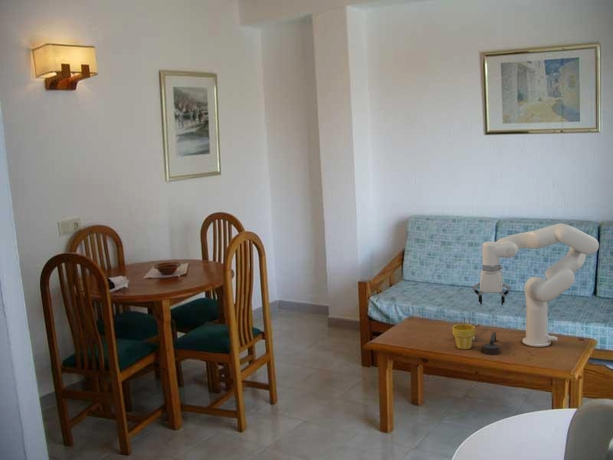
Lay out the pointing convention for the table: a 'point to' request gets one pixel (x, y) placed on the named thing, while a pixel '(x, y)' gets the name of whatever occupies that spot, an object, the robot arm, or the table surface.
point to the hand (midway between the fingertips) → (491, 304)
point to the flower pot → (463, 335)
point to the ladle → (491, 346)
